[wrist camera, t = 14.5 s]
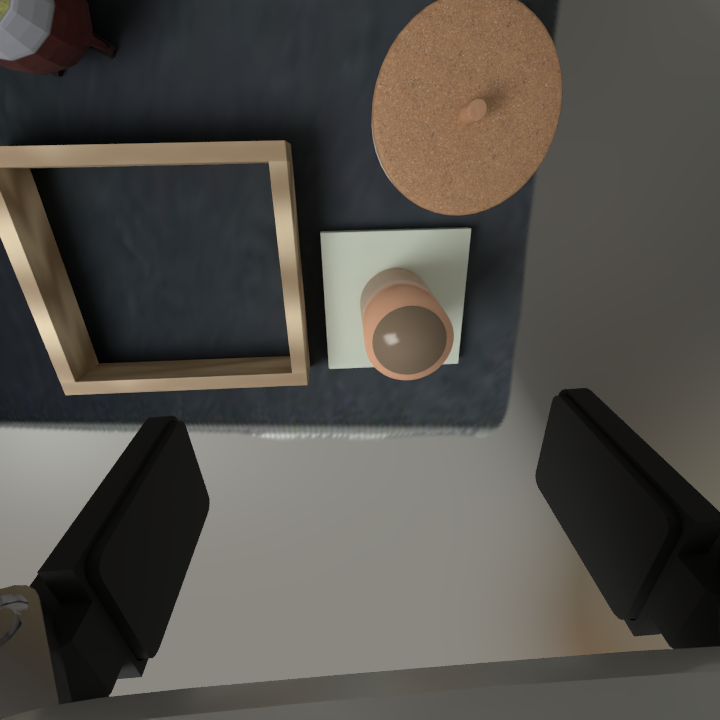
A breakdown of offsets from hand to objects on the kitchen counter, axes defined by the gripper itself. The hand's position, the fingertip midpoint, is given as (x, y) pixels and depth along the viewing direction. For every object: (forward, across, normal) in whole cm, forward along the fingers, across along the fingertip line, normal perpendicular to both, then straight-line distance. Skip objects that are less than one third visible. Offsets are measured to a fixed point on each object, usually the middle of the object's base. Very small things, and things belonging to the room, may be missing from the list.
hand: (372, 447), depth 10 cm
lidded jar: (+25, -7, -8) cm, 28 cm away
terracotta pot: (+24, -4, +5) cm, 24 cm away
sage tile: (+25, -4, +5) cm, 25 cm away
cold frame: (+25, +14, +2) cm, 29 cm away
